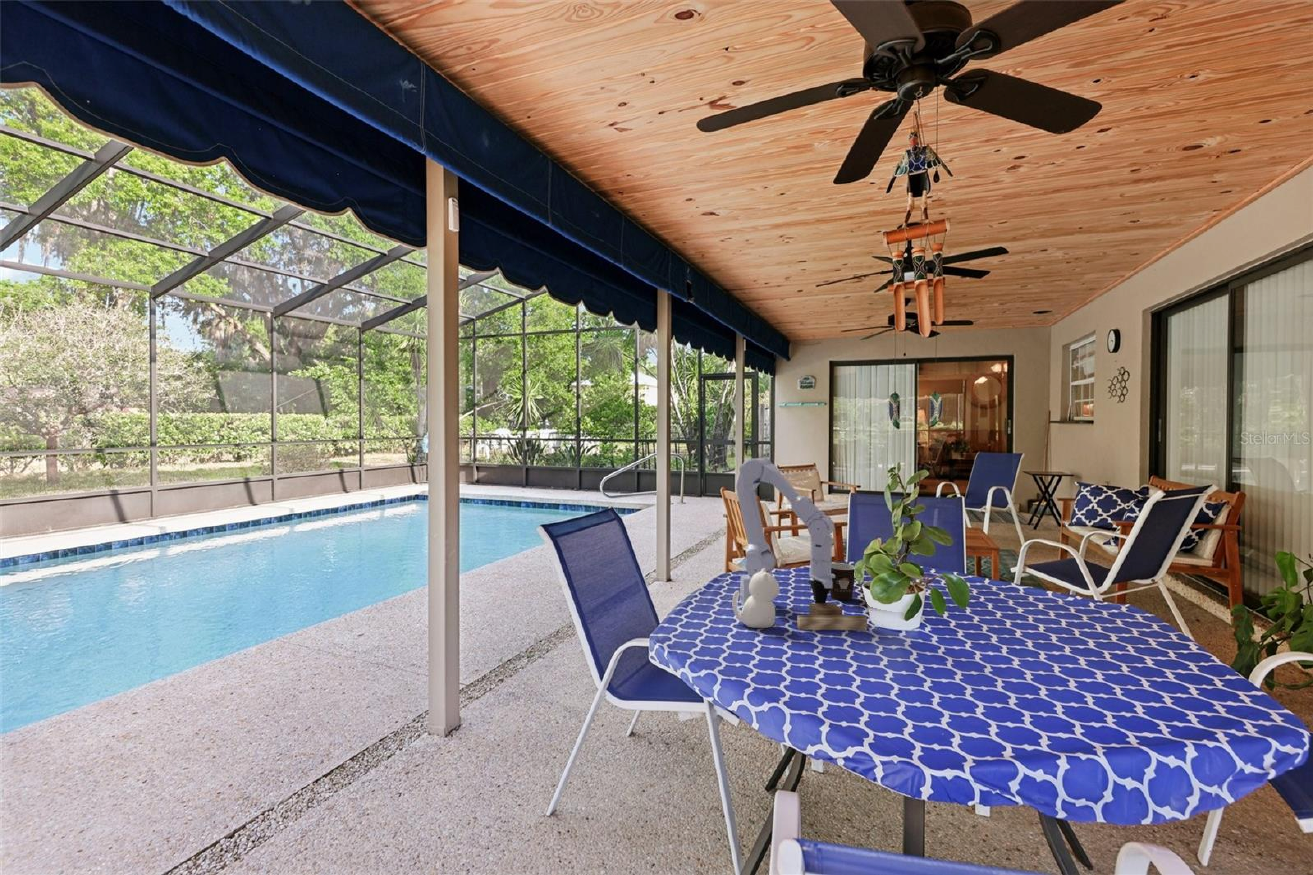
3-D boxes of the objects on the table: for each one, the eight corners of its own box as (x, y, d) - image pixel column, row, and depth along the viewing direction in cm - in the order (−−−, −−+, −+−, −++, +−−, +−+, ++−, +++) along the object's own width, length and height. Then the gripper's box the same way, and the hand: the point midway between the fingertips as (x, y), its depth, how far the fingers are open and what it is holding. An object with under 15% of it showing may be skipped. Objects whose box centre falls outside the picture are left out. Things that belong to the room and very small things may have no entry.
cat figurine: (780, 632, 153) (782, 575, 152) (731, 629, 154) (733, 572, 154) (776, 621, 162) (778, 567, 161) (731, 618, 163) (733, 564, 163)
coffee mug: (858, 596, 186) (859, 565, 185) (851, 603, 178) (852, 571, 178) (821, 591, 192) (822, 560, 192) (813, 597, 184) (814, 565, 184)
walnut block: (817, 624, 159) (818, 610, 159) (809, 617, 165) (809, 603, 165) (842, 623, 160) (842, 609, 160) (832, 616, 166) (832, 602, 166)
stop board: (799, 629, 155) (799, 617, 154) (797, 626, 157) (797, 614, 157) (867, 630, 155) (867, 617, 155) (863, 626, 158) (863, 614, 158)
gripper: (843, 565, 159) (842, 615, 159) (826, 553, 174) (825, 599, 174) (818, 565, 159) (817, 615, 159) (802, 553, 173) (802, 599, 174)
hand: (820, 606), depth 166 cm, fingers closed
